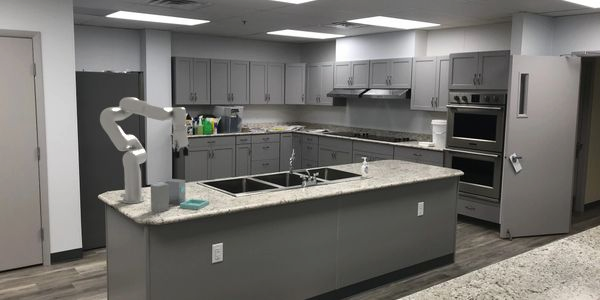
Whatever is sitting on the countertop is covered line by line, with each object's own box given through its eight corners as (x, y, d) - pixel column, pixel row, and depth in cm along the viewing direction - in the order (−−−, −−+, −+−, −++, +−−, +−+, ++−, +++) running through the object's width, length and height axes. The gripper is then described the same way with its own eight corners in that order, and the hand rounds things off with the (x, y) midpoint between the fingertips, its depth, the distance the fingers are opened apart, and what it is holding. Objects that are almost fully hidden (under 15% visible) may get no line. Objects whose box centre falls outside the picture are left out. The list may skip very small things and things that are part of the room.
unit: (164, 203, 294) (163, 181, 292) (172, 200, 302) (171, 178, 301) (180, 205, 291) (179, 182, 289) (187, 202, 299) (187, 179, 297)
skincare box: (162, 208, 284) (162, 181, 282) (169, 210, 279) (169, 183, 277) (150, 210, 277) (149, 183, 275) (157, 213, 273) (156, 185, 271)
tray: (179, 207, 286) (179, 203, 286) (191, 202, 299) (191, 198, 299) (198, 209, 283) (198, 205, 282) (209, 204, 295) (209, 200, 295)
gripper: (182, 127, 296) (183, 154, 298) (166, 129, 280) (168, 158, 282) (193, 127, 294) (194, 155, 296) (177, 129, 278) (179, 159, 280)
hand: (181, 156), depth 289 cm, fingers open, 9 cm apart
